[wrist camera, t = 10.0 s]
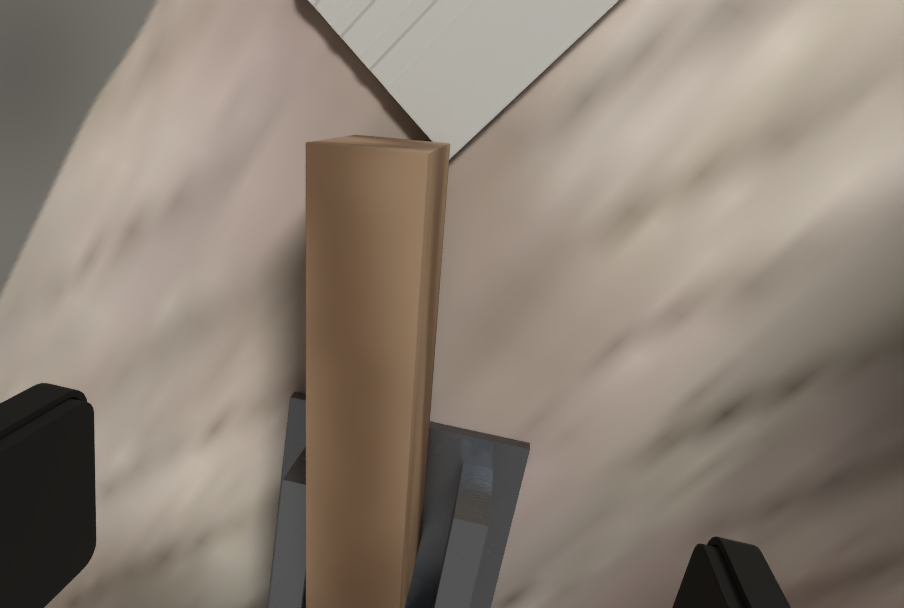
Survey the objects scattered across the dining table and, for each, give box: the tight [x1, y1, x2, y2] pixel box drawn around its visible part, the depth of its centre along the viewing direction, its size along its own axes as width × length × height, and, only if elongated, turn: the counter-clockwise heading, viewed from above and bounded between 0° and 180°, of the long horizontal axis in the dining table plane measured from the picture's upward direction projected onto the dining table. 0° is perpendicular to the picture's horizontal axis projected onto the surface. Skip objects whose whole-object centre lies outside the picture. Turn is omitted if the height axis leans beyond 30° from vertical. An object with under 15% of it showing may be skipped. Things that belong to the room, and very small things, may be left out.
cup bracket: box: [268, 392, 530, 608], centre depth 29 cm, size 12×14×5 cm
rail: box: [306, 135, 450, 608], centre depth 25 cm, size 4×20×6 cm, turn 175°
